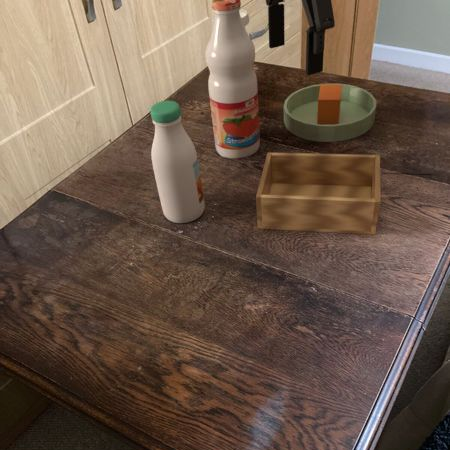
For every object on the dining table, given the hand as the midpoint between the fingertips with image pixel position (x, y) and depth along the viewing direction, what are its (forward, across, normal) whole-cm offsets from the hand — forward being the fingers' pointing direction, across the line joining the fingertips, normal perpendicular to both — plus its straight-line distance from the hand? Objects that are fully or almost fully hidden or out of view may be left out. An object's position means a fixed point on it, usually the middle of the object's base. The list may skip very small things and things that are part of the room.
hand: (294, 59), depth 84 cm
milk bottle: (+20, +5, -25) cm, 32 cm away
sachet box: (+19, -10, +14) cm, 26 cm away
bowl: (+20, -10, +14) cm, 26 cm away
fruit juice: (+20, -10, -8) cm, 24 cm away
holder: (+20, +16, -3) cm, 25 cm away
